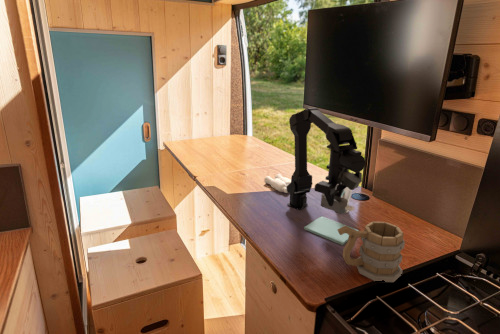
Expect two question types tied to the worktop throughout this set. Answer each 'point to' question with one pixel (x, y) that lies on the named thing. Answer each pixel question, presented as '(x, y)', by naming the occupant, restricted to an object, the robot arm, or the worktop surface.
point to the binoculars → (278, 182)
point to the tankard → (376, 250)
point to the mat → (328, 230)
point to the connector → (337, 204)
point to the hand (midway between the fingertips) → (333, 204)
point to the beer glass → (346, 195)
